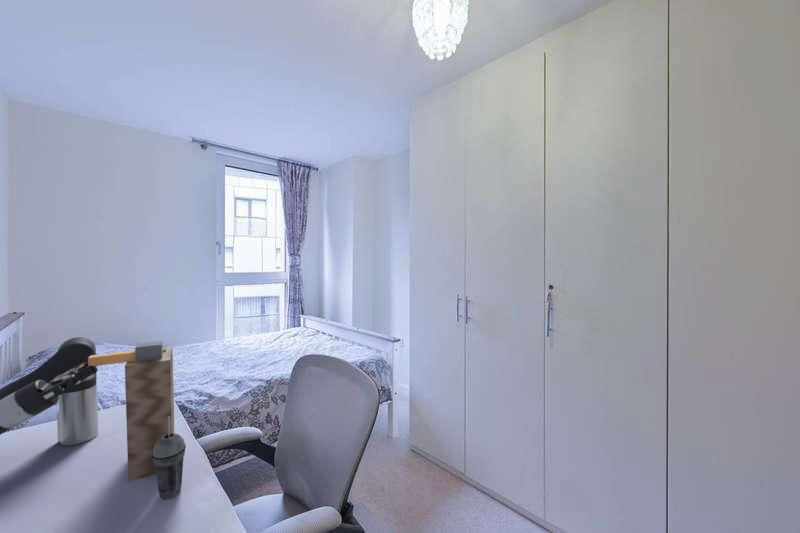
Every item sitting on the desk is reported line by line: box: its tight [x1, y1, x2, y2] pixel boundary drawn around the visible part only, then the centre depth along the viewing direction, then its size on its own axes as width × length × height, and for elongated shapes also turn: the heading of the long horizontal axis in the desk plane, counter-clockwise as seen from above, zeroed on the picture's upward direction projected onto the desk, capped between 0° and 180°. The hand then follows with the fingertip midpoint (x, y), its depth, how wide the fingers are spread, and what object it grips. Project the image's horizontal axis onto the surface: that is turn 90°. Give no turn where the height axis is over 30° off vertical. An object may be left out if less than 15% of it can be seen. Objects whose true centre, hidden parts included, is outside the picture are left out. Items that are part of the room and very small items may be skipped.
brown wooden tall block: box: [124, 344, 176, 483], centre depth 101 cm, size 10×16×33 cm, turn 32°
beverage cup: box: [152, 416, 187, 501], centre depth 88 cm, size 7×7×20 cm
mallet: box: [88, 340, 164, 367], centre depth 95 cm, size 16×4×4 cm, turn 122°
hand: (99, 362), depth 91 cm, fingers open, 8 cm apart
